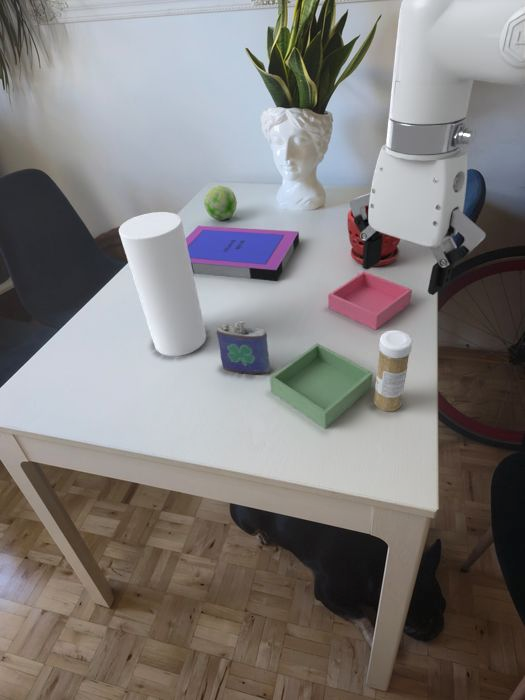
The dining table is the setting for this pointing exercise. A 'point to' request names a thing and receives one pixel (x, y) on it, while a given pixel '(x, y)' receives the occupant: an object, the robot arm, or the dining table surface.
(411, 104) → the robot arm
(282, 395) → the green bin
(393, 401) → the sprinkles bottle
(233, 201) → the decorative ball
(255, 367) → the flask
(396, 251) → the flower pot
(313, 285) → the dining table surface
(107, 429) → the dining table surface
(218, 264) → the book
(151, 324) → the tall pillar cylinder
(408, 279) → the dining table surface
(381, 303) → the pink bin
